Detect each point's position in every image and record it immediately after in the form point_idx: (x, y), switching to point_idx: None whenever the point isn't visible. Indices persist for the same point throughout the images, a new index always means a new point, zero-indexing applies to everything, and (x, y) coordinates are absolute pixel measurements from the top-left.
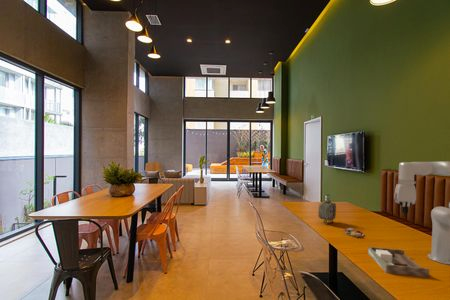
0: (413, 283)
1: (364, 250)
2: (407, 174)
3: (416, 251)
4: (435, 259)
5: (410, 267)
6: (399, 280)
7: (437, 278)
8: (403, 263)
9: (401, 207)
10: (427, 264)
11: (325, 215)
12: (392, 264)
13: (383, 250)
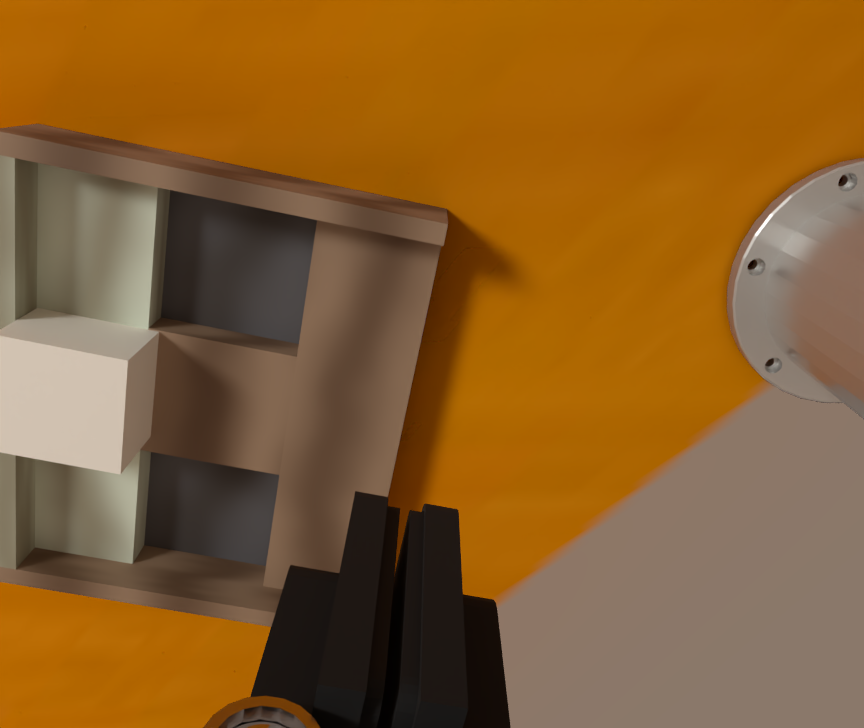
0: (166, 667)
1: (30, 31)
2: None
3: (773, 39)
4: (738, 329)
5: (206, 614)
6: (81, 635)
7: None
8: (255, 462)
9: (260, 670)
10: (568, 388)
11: None
12: (125, 481)
13: (79, 360)
